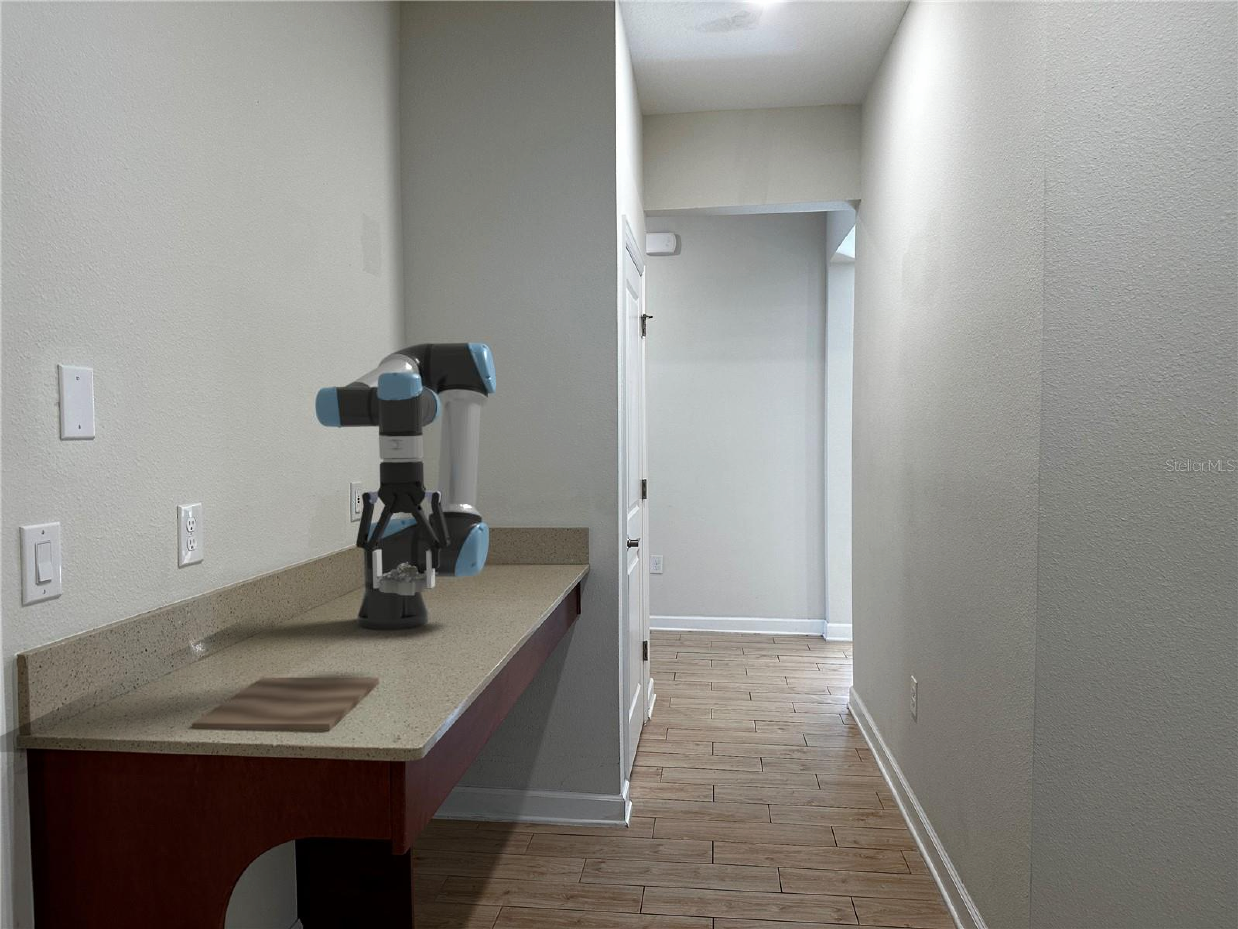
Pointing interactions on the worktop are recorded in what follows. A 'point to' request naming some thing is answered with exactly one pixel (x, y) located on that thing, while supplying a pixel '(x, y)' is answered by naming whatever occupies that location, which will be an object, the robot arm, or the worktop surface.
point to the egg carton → (403, 580)
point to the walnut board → (289, 704)
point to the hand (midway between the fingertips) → (404, 586)
